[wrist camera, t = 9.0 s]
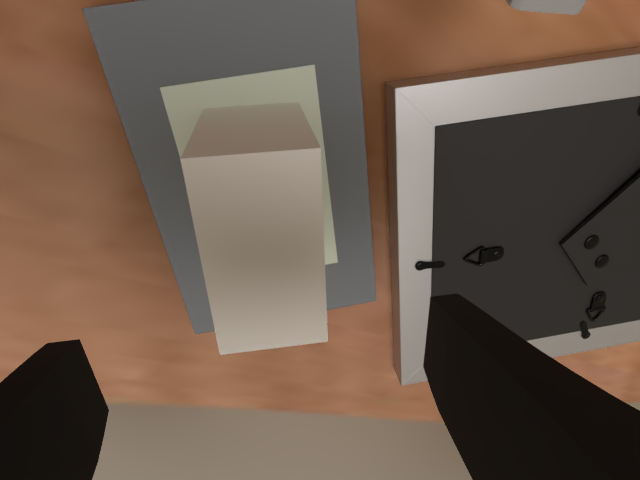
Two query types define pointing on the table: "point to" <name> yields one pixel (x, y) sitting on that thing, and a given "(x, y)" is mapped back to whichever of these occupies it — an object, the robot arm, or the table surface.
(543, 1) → the lighter
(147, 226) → the table surface
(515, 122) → the picture frame
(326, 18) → the mat
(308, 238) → the beige rectangular block
